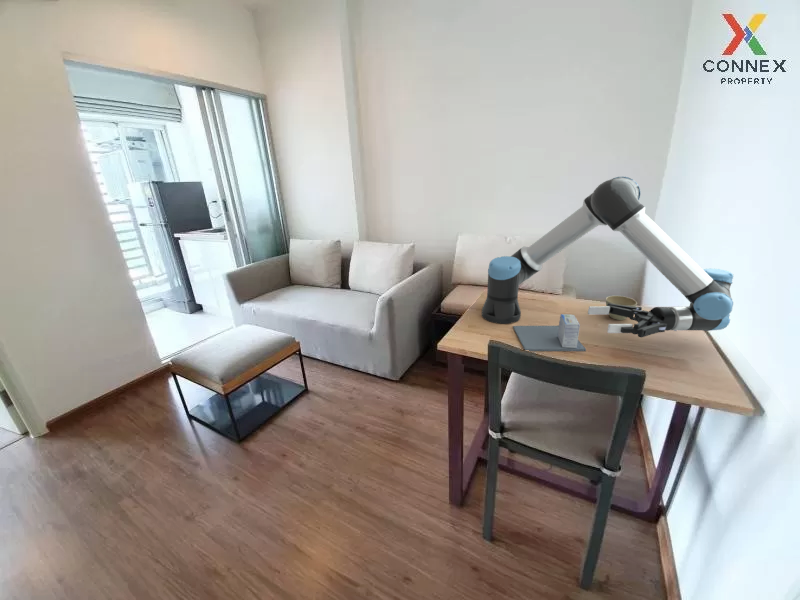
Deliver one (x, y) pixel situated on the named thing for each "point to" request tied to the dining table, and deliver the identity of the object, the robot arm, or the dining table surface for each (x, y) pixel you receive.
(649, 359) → the dining table surface
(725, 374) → the dining table surface
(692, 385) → the dining table surface
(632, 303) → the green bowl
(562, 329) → the medicine box
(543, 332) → the slate mat
